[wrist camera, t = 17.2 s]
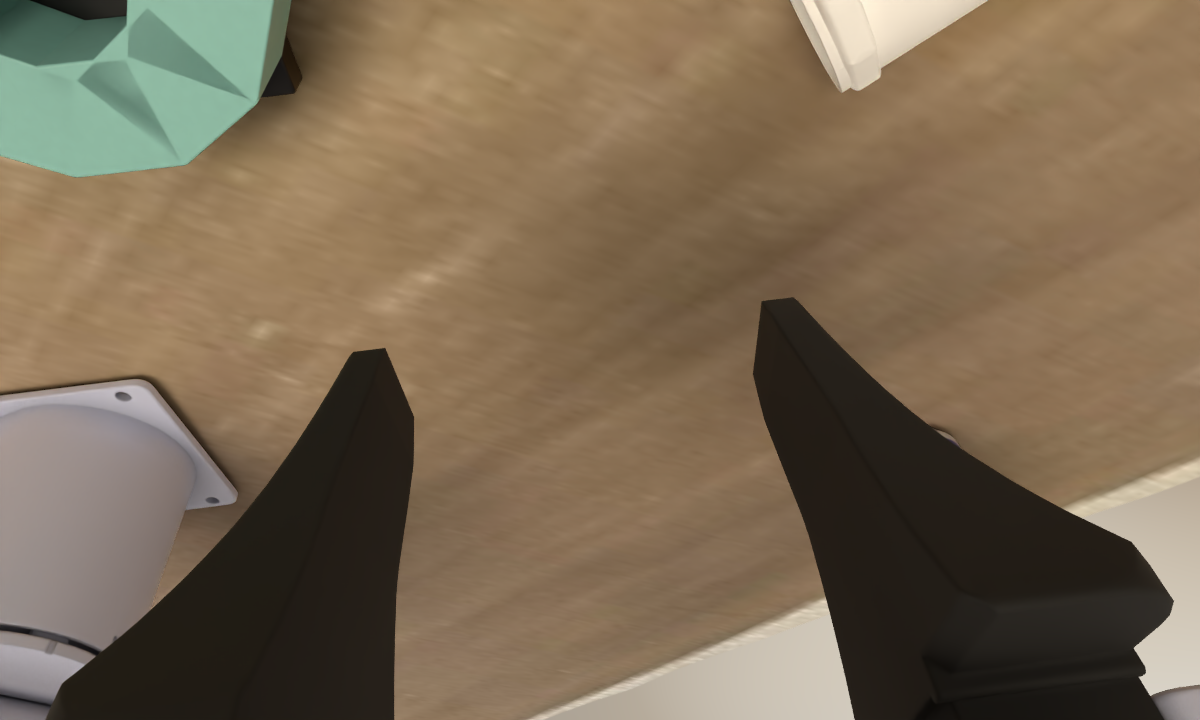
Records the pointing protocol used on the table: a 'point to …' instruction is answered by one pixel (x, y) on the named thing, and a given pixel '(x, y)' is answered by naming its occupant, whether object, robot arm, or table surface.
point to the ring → (131, 81)
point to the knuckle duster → (872, 32)
